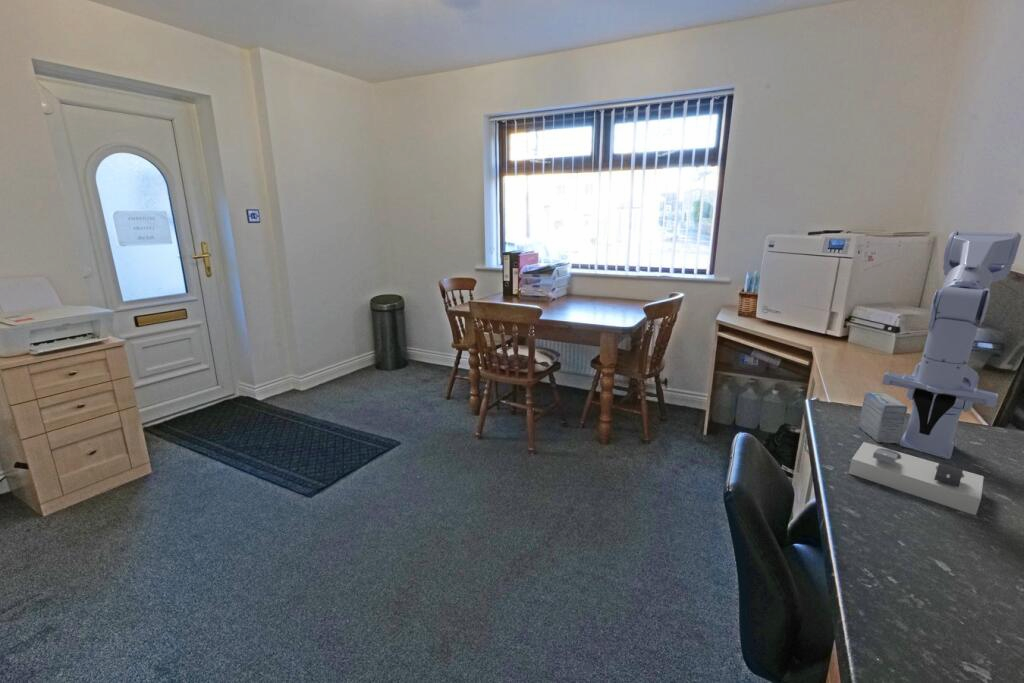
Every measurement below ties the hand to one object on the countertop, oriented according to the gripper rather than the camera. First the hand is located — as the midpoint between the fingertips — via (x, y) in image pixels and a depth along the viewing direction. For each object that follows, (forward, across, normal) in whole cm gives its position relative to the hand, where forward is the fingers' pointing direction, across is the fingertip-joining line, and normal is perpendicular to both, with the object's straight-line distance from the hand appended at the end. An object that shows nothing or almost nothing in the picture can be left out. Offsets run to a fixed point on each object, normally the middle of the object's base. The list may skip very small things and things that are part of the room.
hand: (924, 432), depth 82 cm
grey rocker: (+5, -4, -3) cm, 7 cm away
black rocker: (+5, +4, -3) cm, 7 cm away
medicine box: (+10, -8, +18) cm, 22 cm away
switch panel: (+9, 0, -1) cm, 9 cm away
